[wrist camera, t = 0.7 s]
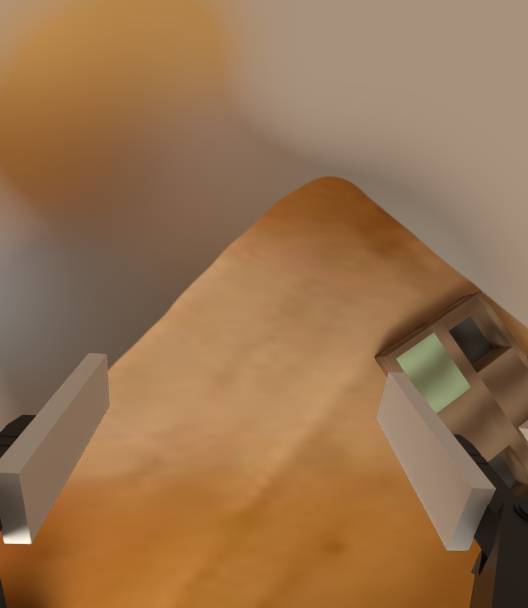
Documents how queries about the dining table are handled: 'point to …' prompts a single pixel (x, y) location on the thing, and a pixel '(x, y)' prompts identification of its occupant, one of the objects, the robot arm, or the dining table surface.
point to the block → (524, 429)
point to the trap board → (471, 381)
